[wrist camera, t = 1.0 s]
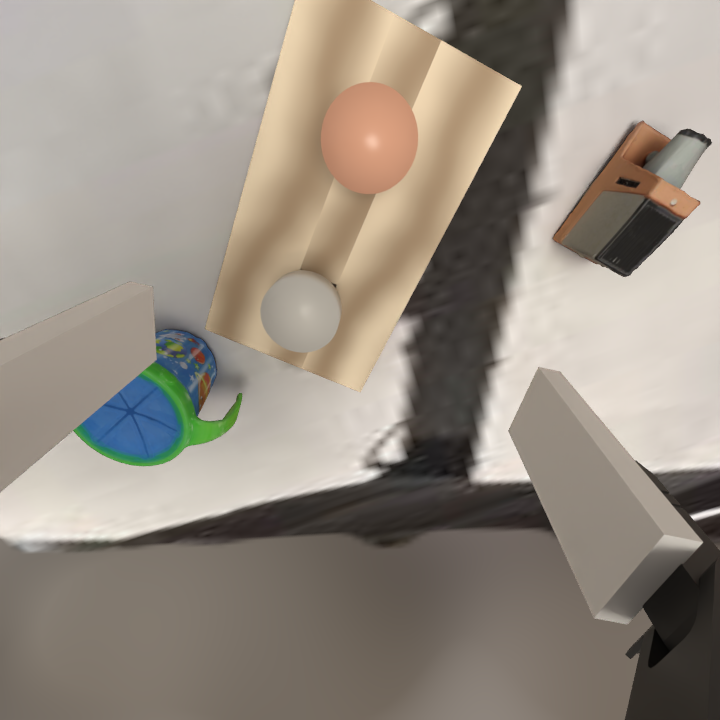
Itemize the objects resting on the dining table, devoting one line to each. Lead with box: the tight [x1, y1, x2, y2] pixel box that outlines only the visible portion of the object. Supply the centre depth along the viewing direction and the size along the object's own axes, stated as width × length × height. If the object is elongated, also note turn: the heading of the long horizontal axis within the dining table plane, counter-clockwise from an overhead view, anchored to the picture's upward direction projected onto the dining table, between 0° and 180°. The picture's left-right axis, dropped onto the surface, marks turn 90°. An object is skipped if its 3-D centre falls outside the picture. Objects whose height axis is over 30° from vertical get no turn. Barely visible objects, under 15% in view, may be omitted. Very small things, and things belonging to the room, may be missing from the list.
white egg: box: [260, 270, 342, 353], centre depth 28 cm, size 5×5×6 cm
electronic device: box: [553, 121, 712, 277], centre depth 28 cm, size 4×10×8 cm, turn 154°
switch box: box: [205, 0, 522, 392], centre depth 30 cm, size 14×24×6 cm, turn 156°
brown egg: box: [321, 82, 418, 194], centre depth 23 cm, size 5×5×6 cm
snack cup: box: [73, 329, 242, 466], centre depth 35 cm, size 16×10×10 cm
